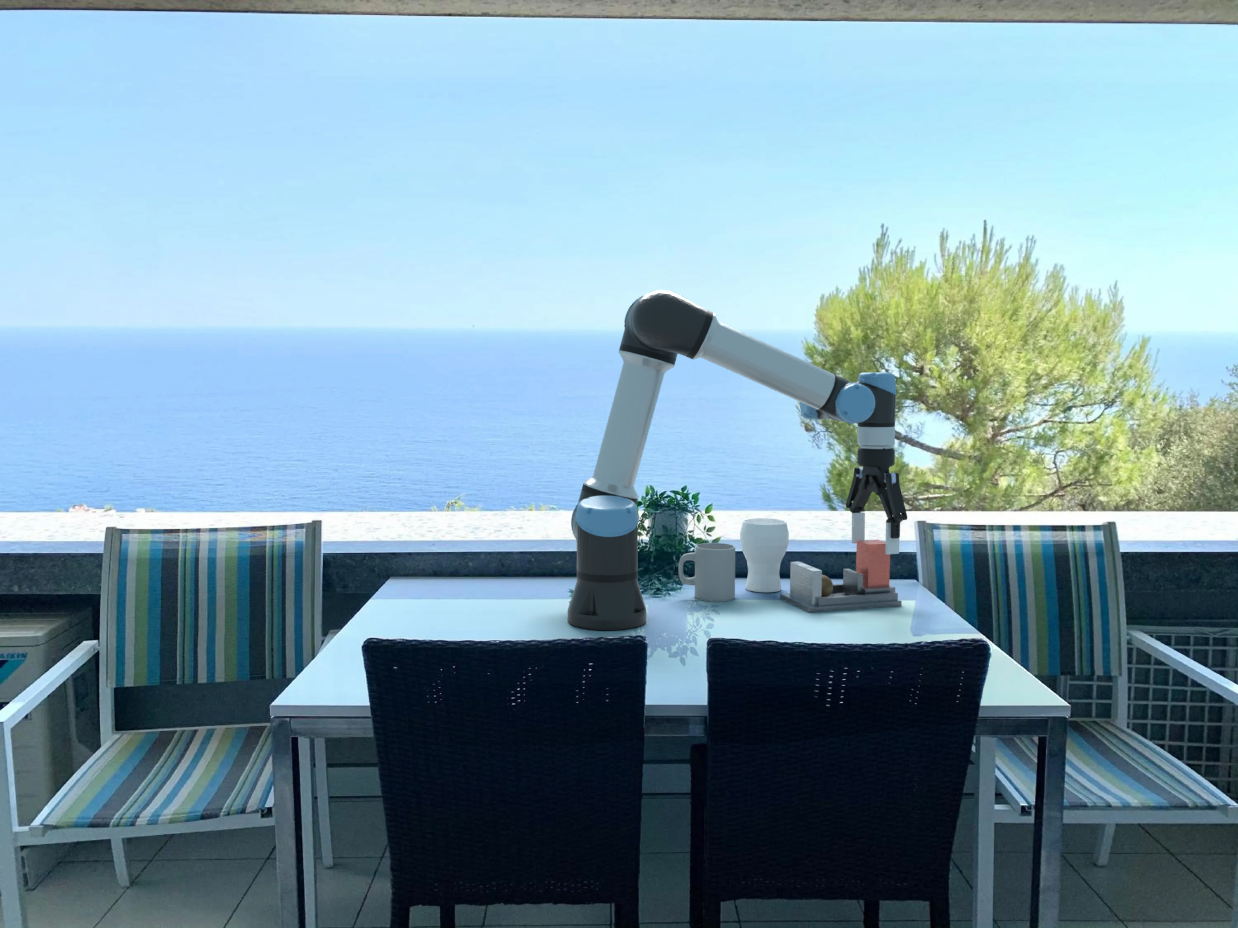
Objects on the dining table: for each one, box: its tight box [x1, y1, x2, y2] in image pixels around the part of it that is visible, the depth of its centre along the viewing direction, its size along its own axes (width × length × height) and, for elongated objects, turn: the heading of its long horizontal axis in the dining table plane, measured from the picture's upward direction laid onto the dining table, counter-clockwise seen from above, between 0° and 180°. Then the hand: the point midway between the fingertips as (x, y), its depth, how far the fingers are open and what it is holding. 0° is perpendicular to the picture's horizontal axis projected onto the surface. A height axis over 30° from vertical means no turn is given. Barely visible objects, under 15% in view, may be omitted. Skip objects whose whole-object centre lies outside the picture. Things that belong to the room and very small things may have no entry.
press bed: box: [779, 561, 903, 613], centre depth 213 cm, size 21×13×8 cm, turn 107°
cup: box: [739, 517, 790, 593], centre depth 225 cm, size 11×11×15 cm
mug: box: [677, 542, 736, 603], centre depth 217 cm, size 12×8×11 cm
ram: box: [842, 539, 896, 595], centre depth 215 cm, size 8×8×11 cm
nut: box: [821, 574, 834, 597], centre depth 212 cm, size 5×5×5 cm
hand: (874, 548), depth 214 cm, fingers open, 13 cm apart
